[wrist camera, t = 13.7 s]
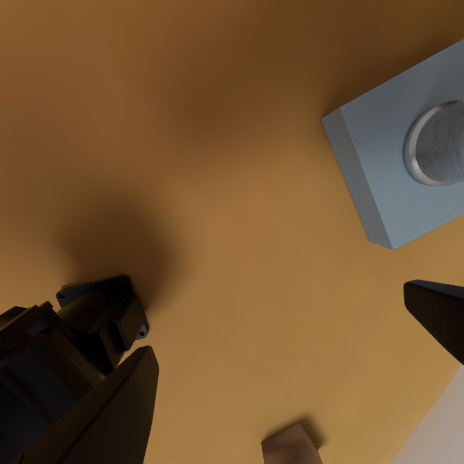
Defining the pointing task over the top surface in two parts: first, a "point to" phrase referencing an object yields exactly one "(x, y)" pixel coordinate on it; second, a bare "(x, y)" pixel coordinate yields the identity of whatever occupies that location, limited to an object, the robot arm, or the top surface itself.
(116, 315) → the robot arm
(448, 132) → the glass shaker
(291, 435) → the offcut block
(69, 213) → the top surface
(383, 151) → the stand
